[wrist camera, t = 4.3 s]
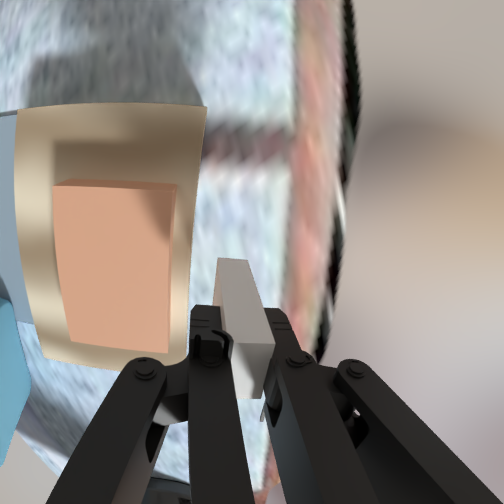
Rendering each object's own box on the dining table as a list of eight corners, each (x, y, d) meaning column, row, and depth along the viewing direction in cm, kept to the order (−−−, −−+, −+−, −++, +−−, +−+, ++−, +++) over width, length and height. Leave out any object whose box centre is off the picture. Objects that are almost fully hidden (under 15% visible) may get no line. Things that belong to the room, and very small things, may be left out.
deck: (186, 342, 23) (185, 377, 19) (61, 327, 21) (44, 357, 17) (207, 112, 17) (207, 106, 13) (48, 111, 15) (17, 109, 11)
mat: (61, 327, 21) (60, 329, 21) (-13, 311, 19) (-14, 313, 19) (48, 111, 15) (46, 110, 14) (-33, 123, 13) (-35, 123, 13)
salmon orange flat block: (170, 332, 18) (167, 353, 16) (80, 322, 16) (71, 341, 15) (177, 184, 14) (172, 191, 13) (69, 178, 13) (52, 185, 11)
